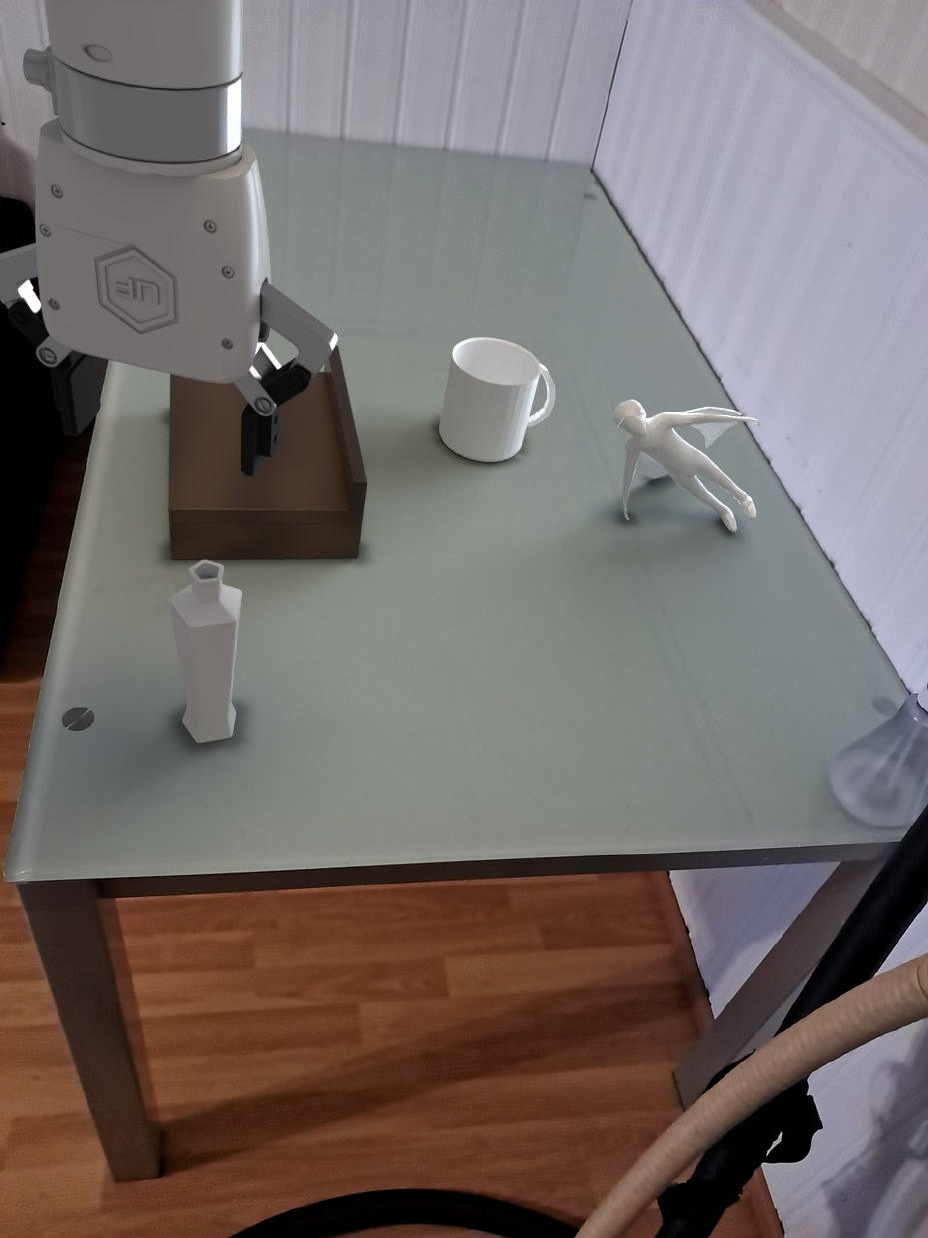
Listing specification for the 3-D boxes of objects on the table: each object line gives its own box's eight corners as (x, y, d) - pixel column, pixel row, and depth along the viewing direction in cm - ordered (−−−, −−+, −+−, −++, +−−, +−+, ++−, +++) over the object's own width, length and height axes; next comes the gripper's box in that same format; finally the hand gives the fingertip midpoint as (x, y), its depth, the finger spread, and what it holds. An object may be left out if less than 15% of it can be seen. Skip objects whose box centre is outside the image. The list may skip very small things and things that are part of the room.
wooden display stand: (171, 559, 81) (166, 479, 76) (172, 413, 96) (168, 336, 90) (358, 558, 86) (367, 482, 80) (331, 418, 100) (338, 345, 95)
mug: (443, 460, 98) (458, 381, 92) (433, 411, 105) (447, 333, 98) (555, 467, 101) (577, 390, 95) (539, 418, 107) (558, 343, 101)
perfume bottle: (212, 759, 68) (209, 608, 58) (167, 726, 69) (156, 573, 59) (257, 721, 71) (261, 571, 61) (212, 690, 72) (209, 539, 62)
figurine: (783, 420, 100) (670, 301, 89) (816, 487, 92) (697, 367, 81) (662, 507, 108) (543, 407, 96) (684, 575, 100) (558, 476, 89)
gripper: (-99, 84, 38) (-21, 444, 50) (329, 183, 38) (305, 518, 50) (-5, 38, 43) (46, 373, 55) (370, 126, 43) (340, 440, 55)
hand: (169, 442), depth 52 cm, fingers open, 9 cm apart
